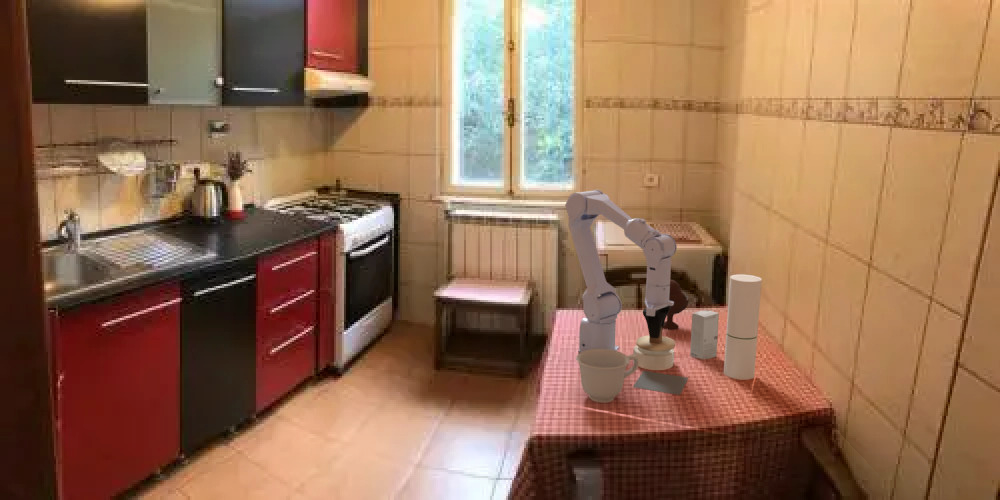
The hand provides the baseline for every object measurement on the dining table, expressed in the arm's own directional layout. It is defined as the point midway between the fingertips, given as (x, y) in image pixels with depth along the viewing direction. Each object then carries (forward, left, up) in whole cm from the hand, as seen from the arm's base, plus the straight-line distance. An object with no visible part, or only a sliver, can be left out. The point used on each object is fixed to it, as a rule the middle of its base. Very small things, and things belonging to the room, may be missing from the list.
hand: (655, 335), depth 168 cm
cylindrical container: (+20, +4, -9) cm, 22 cm away
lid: (0, 0, -2) cm, 2 cm away
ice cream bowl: (-3, +35, -9) cm, 36 cm away
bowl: (-1, +3, -9) cm, 9 cm away
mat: (+4, -9, -9) cm, 13 cm away
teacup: (-6, -22, -9) cm, 25 cm away
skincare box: (+10, +14, -9) cm, 19 cm away
